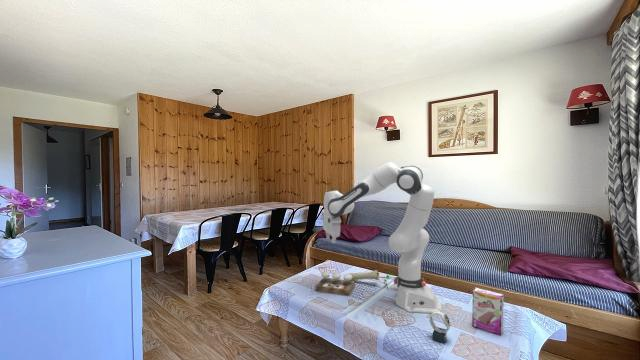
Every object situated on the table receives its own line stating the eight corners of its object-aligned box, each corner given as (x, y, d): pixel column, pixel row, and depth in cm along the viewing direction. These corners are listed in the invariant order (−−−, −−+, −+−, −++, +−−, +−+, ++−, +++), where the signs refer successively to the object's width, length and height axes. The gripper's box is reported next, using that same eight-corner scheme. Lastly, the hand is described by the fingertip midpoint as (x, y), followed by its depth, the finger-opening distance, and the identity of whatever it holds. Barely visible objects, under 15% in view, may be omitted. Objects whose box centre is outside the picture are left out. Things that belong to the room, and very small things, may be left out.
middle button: (341, 276, 170) (341, 273, 170) (339, 279, 166) (339, 276, 166) (333, 275, 172) (333, 272, 172) (331, 278, 167) (331, 275, 167)
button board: (354, 286, 170) (354, 280, 170) (349, 295, 157) (349, 289, 157) (323, 282, 177) (323, 276, 177) (315, 291, 164) (315, 285, 164)
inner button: (352, 277, 168) (352, 274, 168) (351, 280, 163) (350, 277, 163) (344, 276, 170) (344, 273, 170) (342, 279, 165) (342, 276, 165)
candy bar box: (471, 326, 125) (472, 290, 124) (474, 322, 129) (474, 286, 128) (501, 336, 118) (501, 297, 117) (503, 331, 121) (503, 293, 121)
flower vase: (354, 290, 181) (409, 288, 165) (346, 292, 171) (404, 289, 155) (352, 271, 185) (406, 267, 169) (344, 271, 175) (400, 267, 159)
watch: (449, 345, 112) (449, 318, 112) (428, 339, 117) (428, 312, 116) (451, 338, 117) (451, 312, 116) (431, 332, 121) (431, 307, 121)
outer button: (330, 275, 173) (330, 271, 173) (328, 278, 168) (328, 274, 168) (322, 274, 174) (322, 271, 174) (320, 277, 170) (320, 273, 170)
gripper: (320, 214, 174) (320, 236, 174) (331, 221, 154) (331, 246, 155) (330, 214, 175) (329, 235, 176) (342, 220, 156) (342, 245, 157)
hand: (330, 240), depth 166 cm, fingers open, 8 cm apart
